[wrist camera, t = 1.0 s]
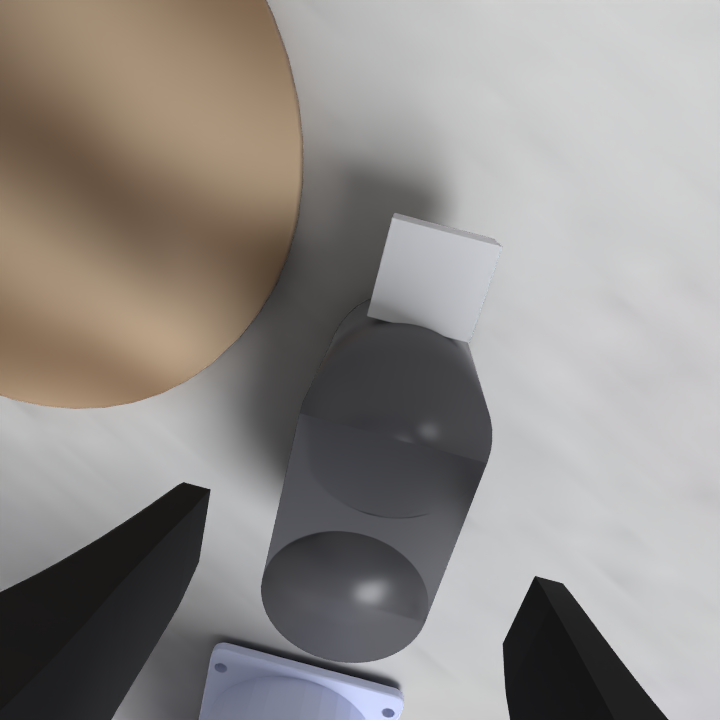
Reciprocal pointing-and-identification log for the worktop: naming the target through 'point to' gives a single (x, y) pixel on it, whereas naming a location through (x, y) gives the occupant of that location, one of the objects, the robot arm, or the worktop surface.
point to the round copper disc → (138, 191)
